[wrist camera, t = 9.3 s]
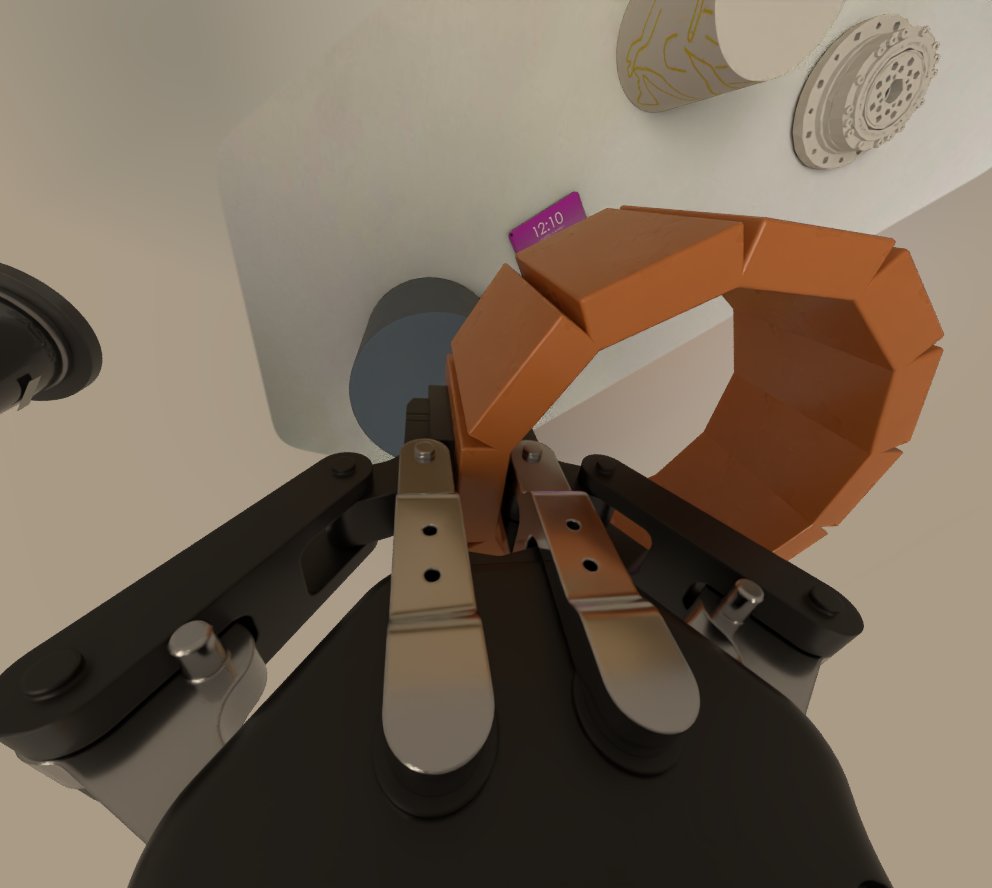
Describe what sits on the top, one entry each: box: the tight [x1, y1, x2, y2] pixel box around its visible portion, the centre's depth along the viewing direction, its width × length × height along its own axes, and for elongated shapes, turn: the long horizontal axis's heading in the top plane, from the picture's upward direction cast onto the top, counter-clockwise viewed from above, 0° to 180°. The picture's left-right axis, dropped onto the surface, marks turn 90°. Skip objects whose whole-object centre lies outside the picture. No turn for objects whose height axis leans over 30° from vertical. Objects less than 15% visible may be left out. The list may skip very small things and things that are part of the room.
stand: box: [349, 277, 480, 457], centre depth 35 cm, size 14×14×12 cm
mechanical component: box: [793, 14, 941, 169], centre depth 32 cm, size 10×4×10 cm
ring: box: [445, 205, 944, 561], centre depth 13 cm, size 13×13×6 cm
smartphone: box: [509, 192, 586, 253], centre depth 38 cm, size 7×15×1 cm, turn 27°
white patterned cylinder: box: [617, 0, 845, 112], centre depth 24 cm, size 8×8×12 cm
